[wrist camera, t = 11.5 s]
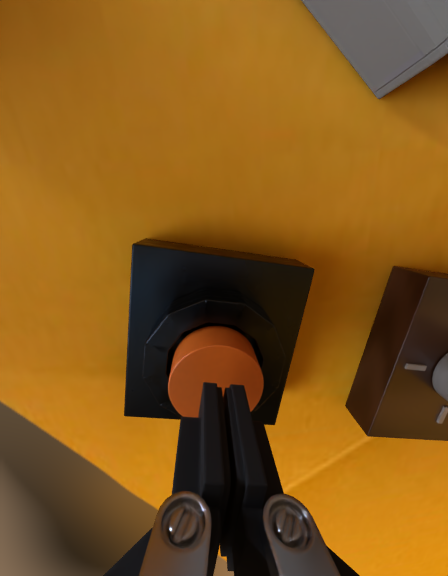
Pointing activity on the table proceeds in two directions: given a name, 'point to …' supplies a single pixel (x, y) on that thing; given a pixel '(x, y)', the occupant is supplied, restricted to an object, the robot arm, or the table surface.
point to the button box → (209, 316)
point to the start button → (213, 367)
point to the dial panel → (404, 360)
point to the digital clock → (385, 36)
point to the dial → (441, 377)
